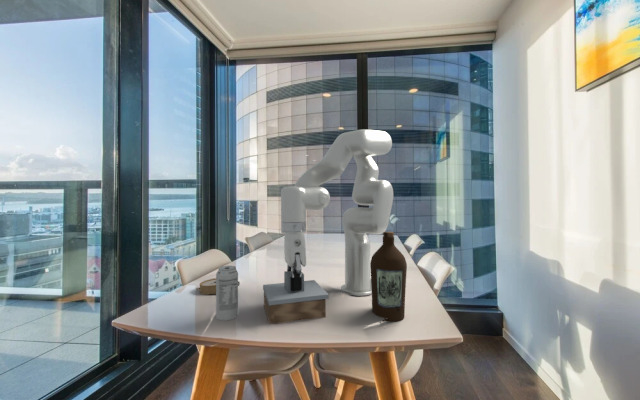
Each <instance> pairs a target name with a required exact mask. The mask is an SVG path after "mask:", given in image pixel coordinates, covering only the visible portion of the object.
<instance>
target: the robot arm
mask: <svg viewBox="0 0 640 400" xmlns="http://www.w3.org/2000/svg"><path fill="white" fill-rule="evenodd" d="M392 146H393V140H392V137H391V135H390V134H389V133H388V132H386V131H384V130H375V129H365V128H363V129H357V130H351V131H346V132H343V133H341V134H339V135H338V136H337V137H336V139H335V140H334V141H333V143H332V144H331V146H330V147H329V149H328V150H327V151H326V153H325V154H324V156H323V157H322V159H321V160H319V161H318V162H317V163H315V164H314V165H313V166H311V167H309V168H308V170H306V171H305V172H304V173H303V174H302V175H300V177H299V178H298V179H297V181H296V182H295V183H294V185H293V186H284V187H282V188H281V190H280V231H281V232H280V233H281V234H284V237H283V238H284V242H283V243H284V244H283V245H284V246H283V248H284V251H283V252H284V253H283V254H284V261H285V263H286V271H291V274H292V277H291V291H300V290H302V274H301V272H302V267H303V268H305V267H306V266H307V252H306V251H307V250H306V247H307V246H306V237H305V234H306V233H307V210H309V211H319V210H320V211H322V210H324V209H325V208H326V207H327V206H329V204H330V202H331V196H330V195H331V194H330V192H329V191H328V190H327V189H326V188H325V187H324V186H323V187H322V186H321V185H323V184H324V183H327V182H330V181H332V180H334V179H337V178H338V177H340V176H342V174H343V173H344V172H345V170H346V168H347V167H348V165H349V163H350V162H351V160H352V158H353V159H354V161H355V164H356V167H357V168H356V174H355V175H356V176H355V179H354V184H353V187H352V188H353V189H352V194H351V199H352V201H353V202H354V203H355V204H356V205H359V206H363V207H359V206H358V207H357V206H355V207H354V206H353V207H350V208H348V209H346V210H345V211H344V213H343V215H342V218H341V219H342V228H343V233H344V243H345V244H344V284H342V285H341V286H340V291H341V292H342V293H344V294H346V295H349V296H356V297H359V296H360V297H363V296H364V297H365V296H369V295H372V288H371V268H370V263H371V242H370V239H369V237H368V235H383V232H387V229H388V226H389V222H390V217H391V212H392V207H393V201H394V189H393V186H392V184H391V182H390V181H388V180H385V179H379V170H380V169H379V166H378V165H377V163H376V162H375V160H374V158H373V157H375V156H383V155H386V154H387V155H388V153H389V152H390V151H391V149H392ZM364 206H373V207H364ZM367 234H368V235H367Z"/></svg>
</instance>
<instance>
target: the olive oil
mask: <svg viewBox="0 0 640 400" xmlns="http://www.w3.org/2000/svg"><path fill="white" fill-rule="evenodd" d="M382 235H383V236H382V244H381V246H380V247H379V248H378V249H377V250H376V251H375V252H374V253H373V255H372V256H371V258H370V278H371V288H372V294H371V312H372V313H373V314H374V315H375V316H377V317H379V318H383V319H382V321H383V322H389V321H390V322H393V323H394V321H395V322H400V321H403V320H404V318H405V308H406V304H405V303H406V291H407V290H406V288H407V271H408V270H407V269H408V268H407V267H408V264H407V261H406V260H407V259H406V257H405V256H404V254H403V253H402V252H401V251H400V250H399V249H398V248H397V246H396V245H395V236H394V235H395V233H394V231H385V232H383V233H382Z"/></svg>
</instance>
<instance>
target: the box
mask: <svg viewBox="0 0 640 400" xmlns="http://www.w3.org/2000/svg"><path fill="white" fill-rule="evenodd" d="M326 303H327V299H321V300H312V301H303V302H295V303H286V304H277V305H269V304H268V301H267V298H266V296H265V293H264V292H263V308H264V310H265V314H266V317H267V321H268V324H269V325H274V324H283V323H289V322H290V323H291V322H298V321H306V320H314V319H321V318H322V319H323V318H326V315H327V314H326V313H327V310H326V309H327V307H326Z"/></svg>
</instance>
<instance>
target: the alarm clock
mask: <svg viewBox="0 0 640 400" xmlns="http://www.w3.org/2000/svg"><path fill="white" fill-rule="evenodd" d="M240 285H241V282H240V281H239V280H238V287H240ZM196 290H197V291H198V290H199V293H200V294H202V295H214V294H215V295H216V277H215V278H210V279H206V280H204V281H201V282H200V283H199V287H197V288H196Z"/></svg>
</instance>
